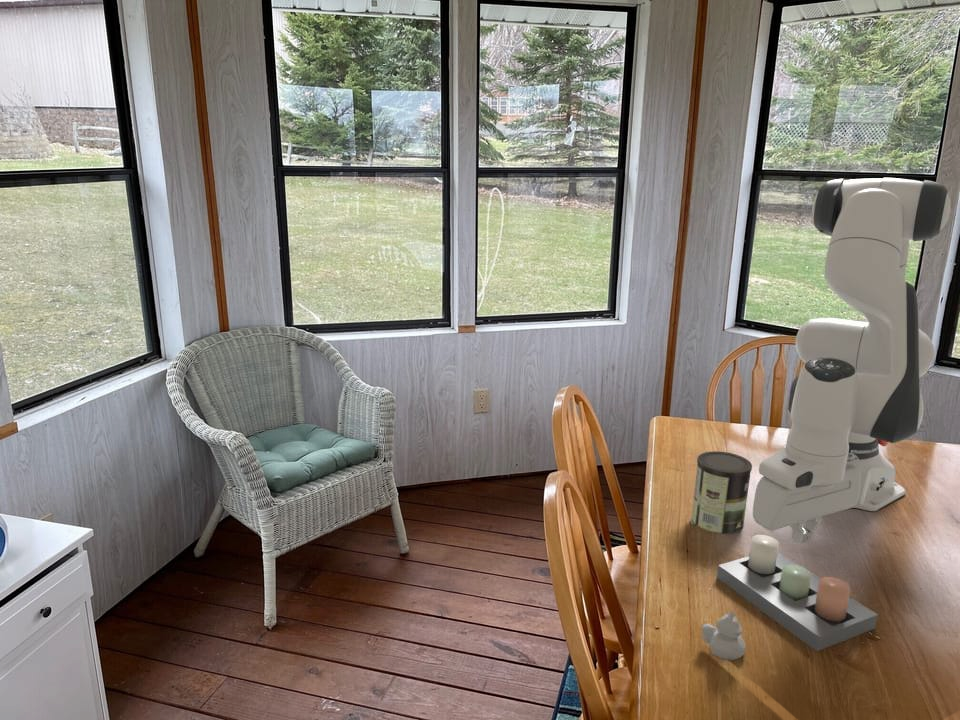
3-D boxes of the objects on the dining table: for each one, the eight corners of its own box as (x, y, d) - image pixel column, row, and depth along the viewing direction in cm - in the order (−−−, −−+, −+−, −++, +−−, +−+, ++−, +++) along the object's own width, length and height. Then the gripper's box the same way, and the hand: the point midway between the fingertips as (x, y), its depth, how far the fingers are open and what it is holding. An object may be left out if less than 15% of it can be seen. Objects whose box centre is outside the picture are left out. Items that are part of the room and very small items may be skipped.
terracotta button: (827, 601, 116) (832, 574, 115) (851, 616, 112) (857, 589, 111) (808, 608, 114) (813, 580, 113) (832, 624, 110) (837, 596, 109)
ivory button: (761, 557, 128) (764, 532, 127) (780, 570, 124) (784, 544, 123) (742, 563, 126) (745, 538, 125) (761, 576, 123) (765, 550, 121)
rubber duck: (737, 673, 105) (743, 626, 103) (693, 653, 109) (698, 608, 107) (749, 653, 109) (755, 607, 107) (706, 635, 113) (712, 591, 111)
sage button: (791, 587, 123) (795, 562, 121) (812, 602, 119) (817, 575, 117) (772, 594, 121) (776, 568, 119) (793, 608, 117) (797, 582, 116)
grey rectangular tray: (770, 565, 132) (773, 548, 131) (874, 633, 114) (877, 614, 113) (716, 582, 127) (718, 565, 126) (815, 656, 109) (819, 637, 108)
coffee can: (739, 515, 150) (748, 453, 146) (746, 541, 140) (756, 475, 136) (688, 510, 152) (695, 448, 148) (692, 535, 142) (699, 469, 138)
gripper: (843, 443, 120) (830, 518, 124) (751, 465, 111) (740, 544, 115) (877, 458, 114) (862, 535, 119) (783, 482, 106) (771, 564, 110)
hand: (801, 540), depth 117 cm, fingers closed
